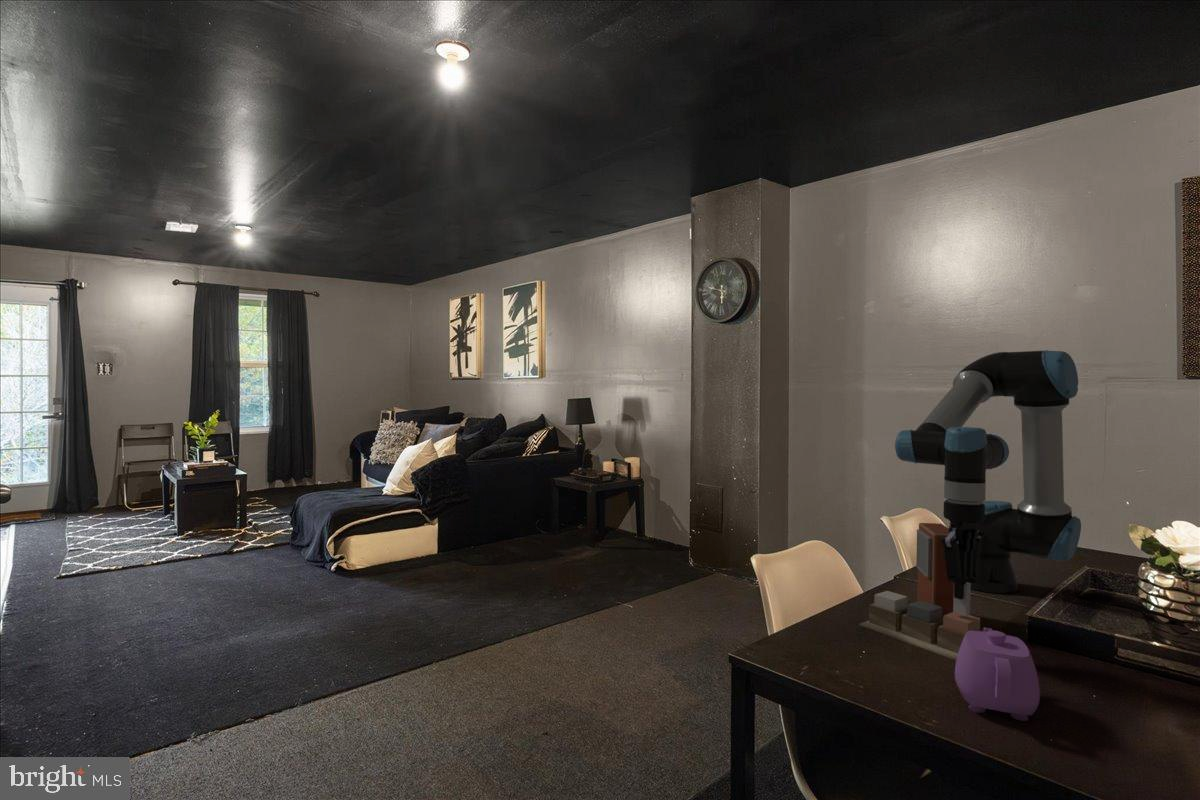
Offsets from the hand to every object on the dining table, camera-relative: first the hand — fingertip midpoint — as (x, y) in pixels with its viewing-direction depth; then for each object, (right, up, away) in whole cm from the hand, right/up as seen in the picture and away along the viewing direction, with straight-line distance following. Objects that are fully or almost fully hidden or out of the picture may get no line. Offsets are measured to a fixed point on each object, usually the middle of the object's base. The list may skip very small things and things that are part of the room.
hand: (961, 613), depth 134 cm
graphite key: (-4, -5, +7) cm, 9 cm away
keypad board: (-4, -8, +7) cm, 11 cm away
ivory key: (-9, -4, +14) cm, 17 cm away
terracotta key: (0, -5, 0) cm, 5 cm away
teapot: (-7, -9, -22) cm, 25 cm away
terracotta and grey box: (+5, -8, +19) cm, 21 cm away
